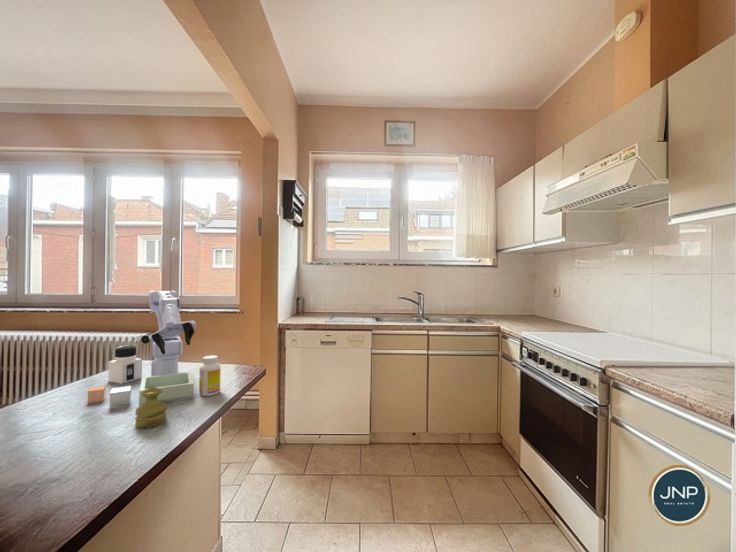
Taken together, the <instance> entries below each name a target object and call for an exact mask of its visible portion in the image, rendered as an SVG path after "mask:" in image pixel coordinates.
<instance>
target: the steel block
mask: <svg viewBox="0 0 736 552" xmlns="http://www.w3.org/2000/svg"><path fill="white" fill-rule="evenodd" d="M130 402H132V385H128V386H127V385H125V386H119V387H112V388H111V389H110V392H109V407H108V408H109V410H113V409H114V408H115V409H120V408H119V407H121V408H127V406H128V407H130V405H131V403H130ZM115 409H114V410H115Z"/></svg>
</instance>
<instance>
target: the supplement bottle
mask: <svg viewBox="0 0 736 552" xmlns="http://www.w3.org/2000/svg"><path fill="white" fill-rule="evenodd" d="M202 362H203V363H202V364H200V366H199V378H198V379H199V380H198V381H199V382H198V383H199V387H198V388H199V389H198V393H199V395H200V396H201V397H202V396H203V397H212V396H216V395H218V394H220V391H221V364H220V363H219V362H218V355H212V354H211V355H206V356H203V357H202Z"/></svg>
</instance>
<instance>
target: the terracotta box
mask: <svg viewBox="0 0 736 552" xmlns="http://www.w3.org/2000/svg"><path fill="white" fill-rule="evenodd" d="M106 388H107V386H106V385H99V386H92V387H90V386H89V388H88V391H87V404H94V403H93V402H95V403H100V401H102V402H105V400H106V398H105V397H107V396H106V394H107V393H106V392H107V391H106V390H107V389H106ZM104 399H105V400H104Z"/></svg>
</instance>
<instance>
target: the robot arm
mask: <svg viewBox="0 0 736 552" xmlns="http://www.w3.org/2000/svg"><path fill="white" fill-rule="evenodd" d="M148 294H149V295H148V300H149V301H148V302H149V309H150V312H152V313H154V314H155V316H156V318H157V325H158V330H156V331H155V332H154V333H151V334H149V335H148V340H149V341H150V343H152V346H151V347H152V348H151V349H152V350H151V351H152V352H151V353H152V358H153V359H152V362H151V365H150V366H151V368H150V369H151V370H150V371H151V372H150V373H151V374H150V375H151V376H158V375H167V374H175V373H179V358H180V356H182V354H183V352H184V344H183V340H182V339H181V336H180V335H182V334H183V333H184V341H185V343H186V345H187V346H190V345H191V340H192V338H193V336H194V334H195V329H196V328H197V323H196V321H195V319H193V320H188V321H182V318H181V312H180V309H181V301H180V297H179V296H178V297H177V292H176V291H175V290H150V291H149V293H148ZM194 328H195V329H194Z"/></svg>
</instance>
